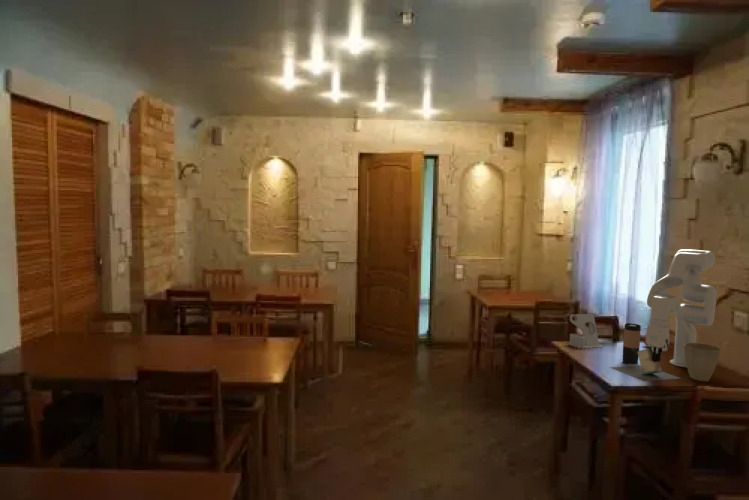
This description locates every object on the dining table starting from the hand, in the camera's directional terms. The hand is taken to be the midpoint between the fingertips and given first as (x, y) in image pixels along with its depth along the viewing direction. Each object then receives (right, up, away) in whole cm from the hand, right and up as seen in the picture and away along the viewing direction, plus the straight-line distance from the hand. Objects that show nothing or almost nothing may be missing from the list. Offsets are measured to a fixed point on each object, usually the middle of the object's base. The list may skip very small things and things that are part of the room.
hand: (656, 361), depth 263 cm
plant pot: (+21, -9, +1) cm, 23 cm away
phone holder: (-10, -4, +61) cm, 62 cm away
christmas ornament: (+29, -5, +64) cm, 71 cm away
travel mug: (0, -6, +26) cm, 27 cm away
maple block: (-1, -6, +2) cm, 7 cm away
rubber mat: (-2, -8, +7) cm, 10 cm away
